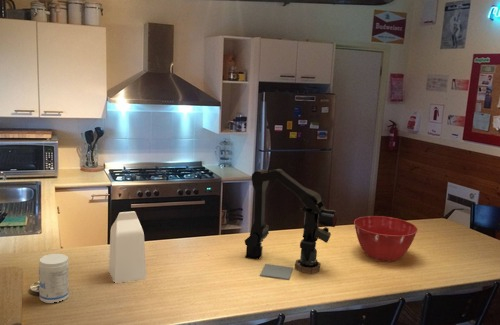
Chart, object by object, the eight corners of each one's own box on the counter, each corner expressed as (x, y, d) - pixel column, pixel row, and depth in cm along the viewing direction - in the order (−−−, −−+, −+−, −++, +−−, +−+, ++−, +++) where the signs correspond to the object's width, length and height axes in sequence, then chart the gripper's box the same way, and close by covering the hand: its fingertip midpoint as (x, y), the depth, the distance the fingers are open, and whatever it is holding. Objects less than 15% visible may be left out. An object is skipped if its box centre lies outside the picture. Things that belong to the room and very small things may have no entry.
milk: (114, 284, 181) (114, 218, 176) (108, 272, 191) (108, 209, 186) (146, 279, 186) (146, 215, 182) (138, 268, 196) (139, 207, 192)
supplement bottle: (314, 273, 200) (317, 245, 198) (298, 270, 201) (300, 243, 199) (316, 266, 207) (318, 240, 205) (300, 264, 208) (302, 238, 206)
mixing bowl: (377, 271, 205) (380, 237, 202) (339, 248, 230) (341, 218, 227) (427, 264, 216) (431, 231, 214) (385, 242, 242) (388, 213, 239)
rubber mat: (259, 276, 194) (259, 274, 194) (265, 265, 206) (265, 263, 206) (288, 280, 192) (289, 278, 192) (292, 268, 203) (293, 267, 203)
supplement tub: (34, 297, 167) (33, 257, 164) (60, 289, 174) (59, 251, 172) (48, 307, 161) (47, 266, 158) (74, 298, 168) (73, 258, 165)
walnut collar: (293, 271, 200) (294, 264, 200) (296, 262, 210) (297, 255, 210) (318, 275, 198) (319, 267, 197) (320, 265, 208) (321, 258, 207)
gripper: (328, 231, 190) (325, 268, 193) (331, 218, 208) (328, 252, 210) (301, 228, 192) (298, 265, 195) (306, 215, 210) (303, 249, 213)
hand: (308, 257), depth 203 cm, fingers closed on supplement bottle, 7 cm apart
